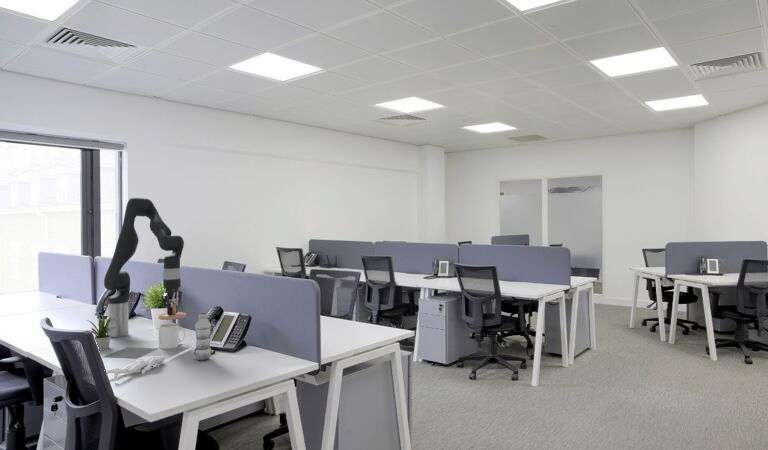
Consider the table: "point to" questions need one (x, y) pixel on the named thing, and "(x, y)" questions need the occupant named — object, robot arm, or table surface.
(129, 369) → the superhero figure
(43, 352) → the table surface
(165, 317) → the lid
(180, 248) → the robot arm
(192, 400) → the table surface
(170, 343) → the mug
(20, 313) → the table surface
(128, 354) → the mat
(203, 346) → the plastic bottle
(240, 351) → the table surface
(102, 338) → the house plant
